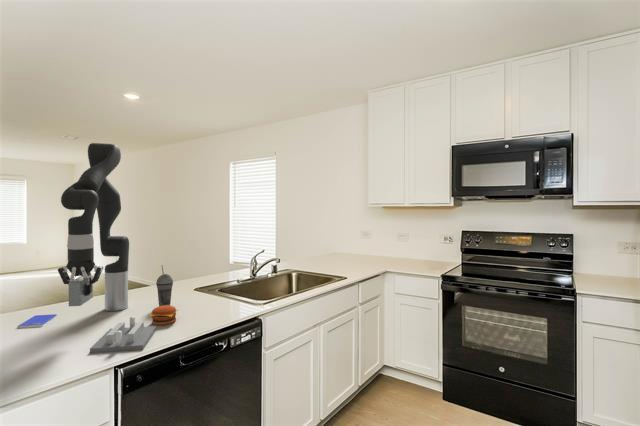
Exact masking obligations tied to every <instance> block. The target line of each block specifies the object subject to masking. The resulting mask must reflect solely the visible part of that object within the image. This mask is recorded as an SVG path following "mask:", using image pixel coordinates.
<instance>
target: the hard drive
mask: <svg viewBox="0 0 640 426" xmlns="http://www.w3.org/2000/svg"><path fill="white" fill-rule="evenodd" d="M57 317H58V314H55V313H54V314H52V313H51V314H40V315H39V314H38V315H34V316H32V317H30V318H29V319H27V320H25V321H24V322H21V323H20V324H19V325H17V327H16V328H17V329H28V328H40V327H41V328H42V327H44V326H46V325H47V324H49V323H50V322H51V321H53V320H54V319H55V318H57Z"/></svg>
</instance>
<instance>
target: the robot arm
mask: <svg viewBox="0 0 640 426" xmlns="http://www.w3.org/2000/svg"><path fill="white" fill-rule="evenodd" d="M87 147H88V148H87V158H88V162H89V168H88V169H86V170H85V171H83V173H82V174H81V175H80V177H79V178H78V180H77V181H76V182H74V183H73V184H71V185H70V186H68V187H67V188H66V189H65V190H64V191H63V193H62V194H61V197H60V202H61V205H62V206H63V208H65V209H67V210H71V211H78V210H79V211H83V213H82V214H81V215H78V216H72V217H70V218H69V219H68V221H67V222H68V223H67V227H68V229H67V230H68V231H67V232H68V233H67V234H68V235H67V244H66V247H67V264H66V266H65V265H64V266H61V267H59V268H57V272H58V274H59V277H60V278H61V281H62V283H63V284H64V285H68V283H69V282H71V281H73V280H75V279H78V278H79V277H81V276H83V278H84V280H85V283H86V286H85V288H86V296H89V295H90V294H91V293H92V284H93V285H94V284H95V283H97V282H98V281H99V279H100V277H101V274H102V272H103V269H104V311H105V312H106V311H107V312H116V311H117V312H119V311H122V310H125V309H127V308H128V307H129V255H130V240H129V237H127V236H126V235H122V236H121V235H112V236H111V228H112V226H113V224H114V222H115V220H116V219H117V218H118V216H119V215H120V213H121V210H122V203H121V196H120V195H121V194H120V193H119V191H118V190H117V188H116V187H115V186H114V185H113V183H111V182H110V180H109V179H108V176H110V174H111V173H112V172H113V171H114V170H115V169H116V168H117V167H118V165H119V164H120V162H121V159H122V153H121V149H120V147H119V146H118V145H117V144H115V143H100V142H91V143H90V144H89V145H88V146H87ZM96 211H97V218H98V225H99V226H98V227H99V246H100V252H101V254H102V256H104V257H118V260H115V261H114V262H112V263H108V264H106V265H105V266H103V265H101V266H99V265H96V263H95V262H94V258H95V254H94V253H95V251H94V250H95V246H94V244H95V243H94V234H93V232H94V231H93V229H94V226H93V225H94V224H93V222H94V218H95V213H96ZM92 271H94V272H95V273H94V275H92ZM68 272H69V273H70V275H69V274H68ZM92 276H93V279H92V278H91V277H92Z"/></svg>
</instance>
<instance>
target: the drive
mask: <svg viewBox="0 0 640 426" xmlns="http://www.w3.org/2000/svg"><path fill="white" fill-rule="evenodd" d="M93 277H94V275H92V277H91V278H92V279H93ZM67 285H68V307H81V306H82V305H84V304H85V303H87V302H88V301H90V300H91V299H93V298H94V283H93V284H92V293H91V294H90V295H89V296H86V288H85V286H86V283H85V280H84V278H83V276H79V277H78V279H75V280H73V281H71V282H69V283H68V284H67Z"/></svg>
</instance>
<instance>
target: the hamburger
mask: <svg viewBox="0 0 640 426" xmlns="http://www.w3.org/2000/svg"><path fill="white" fill-rule="evenodd" d="M178 311H179V309H177V308H176V307H175V306H173V305H170V306H169V305H163V306H159V305H158V306H157V307H154V308H153V309H152V311H151V314H150V315H149V318H152V320H151V324H152V326H156V327H157V326H159V327H161V326H163V327H164V326H169V325H172V324H174V323H175V322H176V321H177V318H176V316H177V312H178Z"/></svg>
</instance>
